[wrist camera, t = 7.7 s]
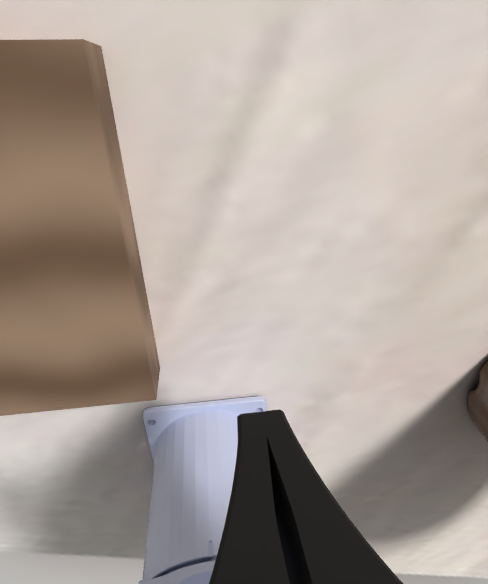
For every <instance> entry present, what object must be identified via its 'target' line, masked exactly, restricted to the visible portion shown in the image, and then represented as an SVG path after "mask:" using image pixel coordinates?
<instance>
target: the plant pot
mask: <svg viewBox="0 0 488 584" xmlns="http://www.w3.org/2000/svg"><path fill="white" fill-rule="evenodd" d="M468 411H469V414H470V417H471V419H472V421H473V422H474V424H475V425H476V426H477V428H478V429H479V431H480V432H481V433H482V435H483V436H484V437H485V439H486V440H487V441H488V361H487V362H486V364H485V365H484V366H483V367H482V369H481V370H480V378H479V385H478V387H477V389H476V390H475V391H471V392H470V393H469V395H468Z"/></svg>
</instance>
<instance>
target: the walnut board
mask: <svg viewBox="0 0 488 584" xmlns="http://www.w3.org/2000/svg"><path fill="white" fill-rule="evenodd" d="M159 372H160V366H159V360H158V355H157V349H156V344H155V338H154V333H153V327H152V322H151V316H150V311H149V305H148V300H147V295H146V289H145V284H144V278H143V273H142V267H141V262H140V256H139V251H138V245H137V240H136V234H135V229H134V223H133V218H132V213H131V207H130V202H129V196H128V191H127V185H126V180H125V174H124V169H123V163H122V158H121V152H120V147H119V141H118V136H117V131H116V125H115V120H114V114H113V109H112V103H111V98H110V92H109V87H108V81H107V76H106V70H105V65H104V60H103V54H102V49H101V46H99V45H96V44H94V43H91V42H88V41H86V40H83V39H79V40H0V416H2V415H12V414H22V413H32V412H42V411H51V410H61V409H71V408H81V407H90V406H100V405H110V404H120V403H129V402H139V401H149V400H156V397H157V389H158V380H159Z"/></svg>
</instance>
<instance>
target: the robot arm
mask: <svg viewBox="0 0 488 584" xmlns="http://www.w3.org/2000/svg"><path fill="white" fill-rule="evenodd" d="M258 408H260V409H258ZM143 420H144V424H145V428H146V433H147V437H148V441H149V445H150V449H151V454H152V458H153V462H154V475H153V484H152V494H151V504H150V513H149V523H148V533H147V542H146V552H145V562H144V572H143V580H141V581H140V582H139V584H403V583H402V582H401V581H400V580H399V579H398V578H397V576H396V575H395V574H394V573H393V572H392V571H391V570H390V568H389V567H388V566H387V565H386V564H385V563H384V561H383V560H382V559H381V558H380V557H379V555H378V554H377V553H376V552H375V551H374V549H373V548H372V547H371V546H370V545H369V543H368V542H367V541H366V540H365V538H364V537H363V536H362V535H361V533H360V532H359V531H358V530H357V528H356V527H355V526H354V524H353V523H352V522H351V520H350V519H349V518H348V516H347V515H346V514H345V512H344V511H343V510H342V508H341V507H340V505H339V504H338V503H337V501H336V500H335V498H334V497H333V496H332V494H331V493H330V491H329V490H328V488H327V487H326V485H325V484H324V482H323V481H322V479H321V478H320V476H319V475H318V473H317V472H316V470H315V468H314V467H313V465H312V464H311V462H310V461H309V459H308V457H307V456H306V454H305V452H304V451H303V449H302V447H301V445H300V444H299V442H298V440H297V438H296V436H295V435H294V433H293V431H292V429H291V427H290V425H289V423H288V421H287V419H286V417H285V414H284V412H283V411H281V410H272V411H267V403H266V399H265V398H264V397H262V396H255V397H245V398H236V399H226V400H216V401H207V402H197V403H188V404H178V405H168V406H159V407H150V408H147V409H145V410H144V412H143Z"/></svg>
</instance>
